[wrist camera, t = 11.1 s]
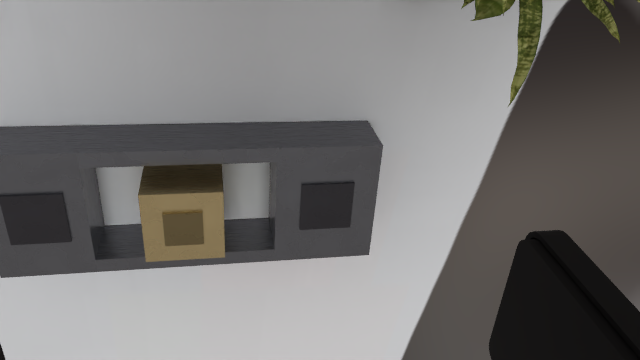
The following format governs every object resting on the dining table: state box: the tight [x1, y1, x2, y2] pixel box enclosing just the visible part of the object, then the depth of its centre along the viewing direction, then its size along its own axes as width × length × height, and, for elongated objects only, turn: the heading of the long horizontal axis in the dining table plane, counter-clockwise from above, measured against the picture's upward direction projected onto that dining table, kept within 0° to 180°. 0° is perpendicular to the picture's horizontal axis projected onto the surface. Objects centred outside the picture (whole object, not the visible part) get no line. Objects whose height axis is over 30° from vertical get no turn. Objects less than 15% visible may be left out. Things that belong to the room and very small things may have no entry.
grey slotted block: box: [0, 121, 383, 278], centre depth 38 cm, size 25×9×4 cm, turn 88°
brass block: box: [138, 164, 225, 262], centre depth 37 cm, size 5×5×6 cm
